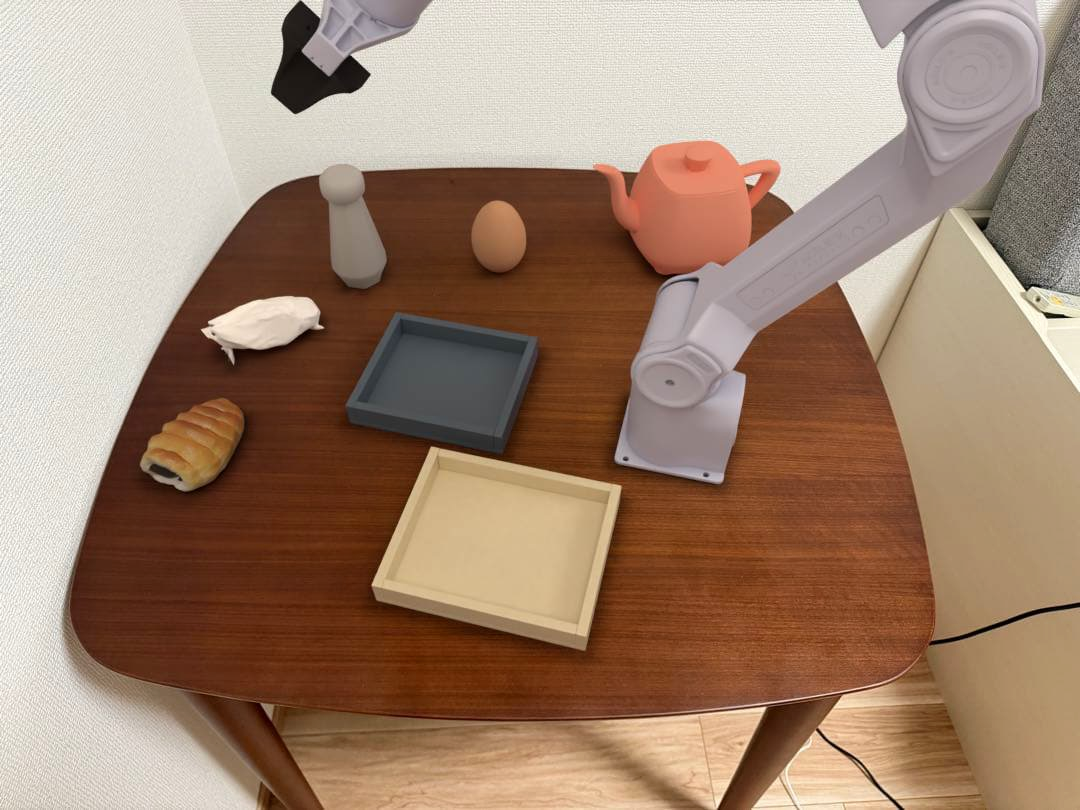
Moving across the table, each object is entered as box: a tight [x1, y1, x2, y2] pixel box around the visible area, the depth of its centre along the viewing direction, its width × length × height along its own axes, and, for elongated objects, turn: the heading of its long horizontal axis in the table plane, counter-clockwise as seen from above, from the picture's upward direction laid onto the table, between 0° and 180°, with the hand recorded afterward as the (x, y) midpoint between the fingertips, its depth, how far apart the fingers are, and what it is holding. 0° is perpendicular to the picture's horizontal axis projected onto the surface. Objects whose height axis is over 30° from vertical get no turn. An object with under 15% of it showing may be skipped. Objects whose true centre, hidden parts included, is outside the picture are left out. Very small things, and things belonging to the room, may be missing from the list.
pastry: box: [139, 397, 245, 492], centre depth 72 cm, size 9×7×4 cm
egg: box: [471, 200, 527, 273], centre depth 86 cm, size 6×6×8 cm
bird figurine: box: [200, 295, 325, 366], centre depth 80 cm, size 5×7×10 cm
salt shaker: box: [318, 163, 388, 290], centre depth 83 cm, size 6×6×13 cm
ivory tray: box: [370, 446, 623, 652], centre depth 65 cm, size 17×14×2 cm
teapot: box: [592, 140, 781, 276], centre depth 86 cm, size 13×20×12 cm, turn 100°
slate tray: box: [345, 311, 539, 455], centre depth 77 cm, size 15×13×2 cm
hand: (309, 70), depth 57 cm, fingers open, 7 cm apart
